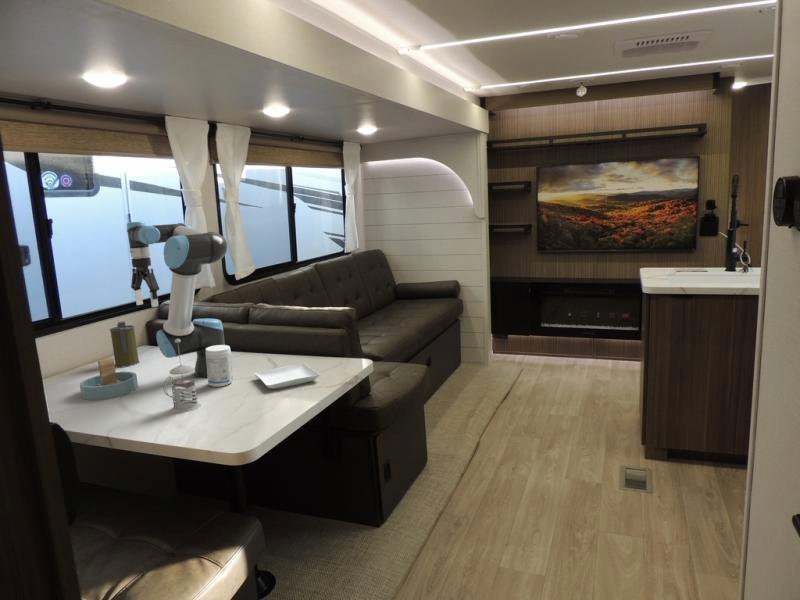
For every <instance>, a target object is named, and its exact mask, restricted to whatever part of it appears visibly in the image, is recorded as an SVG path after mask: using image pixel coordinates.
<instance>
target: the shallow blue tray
mask: <svg viewBox="0 0 800 600" xmlns="http://www.w3.org/2000/svg"><path fill="white" fill-rule="evenodd" d="M115 372H116V379H117V382H115V383H111V384H107V385H104V386H103V385H101V378H100V374H98V375H94V376H91V377H88V378H86V379H84V380H82V381H80V382H79V389H80V394H81V399H83V398H84V399H83V400H87V401H100V400H101V401H102V400H108V399H115V398H118V397H121V396H122V397H123V396H126V395H129V394H130V393H133V392H134V391H136V390H137V389H138V388H139V382H138V377H137V374H136V372H133V371H115Z"/></svg>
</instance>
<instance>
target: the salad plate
mask: <svg viewBox="0 0 800 600" xmlns="http://www.w3.org/2000/svg"><path fill="white" fill-rule="evenodd" d="M254 376H255V377H256V378H258V379H259V380H260V382H261V381H262V383H263V384H264V385H265V386H266V388H269V389H270V390H271V389H272V390H273V389H275V390H276V389H282V388H287V387H288V388H289V387H293V386H297V385H303V384H307V383H309V382H311V381H314V380H316V379H318V378H319V376H320V373H319V372H318V371H315V370H314V369H313V368H311V367H310V366H309V365H307V364H306V363H299V364H298V363H297V364H294V365H293V364H292V365H287V366H280V367H275V368H270V369H267V370H262V371H257V372H254Z"/></svg>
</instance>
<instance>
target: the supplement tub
mask: <svg viewBox="0 0 800 600" xmlns="http://www.w3.org/2000/svg"><path fill="white" fill-rule="evenodd" d="M231 350H232V349H231V347H230V345H227V344H225V345H215V346H210V347H208V348H206V364H207V375H208V377H207V384H208V385H209V386H211V387H213V388H214V387H216V388H217V387H225V385H226V386H229V385H231V384H232V383H233V381H234V378H233V377H234V376H233V365H232V364H233V363H232V352H231ZM230 383H231V384H230ZM228 384H229V385H228Z"/></svg>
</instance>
